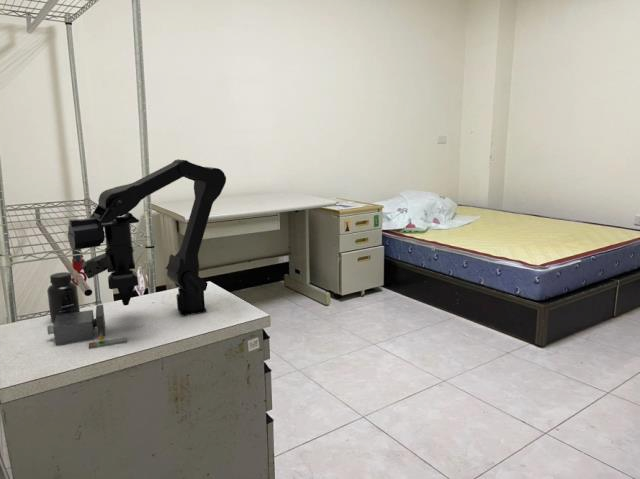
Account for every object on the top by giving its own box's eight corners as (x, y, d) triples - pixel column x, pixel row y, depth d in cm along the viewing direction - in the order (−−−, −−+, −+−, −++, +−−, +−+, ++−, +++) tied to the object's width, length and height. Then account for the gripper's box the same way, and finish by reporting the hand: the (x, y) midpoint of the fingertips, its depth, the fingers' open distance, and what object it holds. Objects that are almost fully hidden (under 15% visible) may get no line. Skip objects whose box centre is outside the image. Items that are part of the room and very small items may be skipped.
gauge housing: (125, 322, 122) (123, 305, 121) (127, 342, 111) (125, 324, 110) (58, 332, 116) (56, 315, 115) (53, 354, 105) (50, 335, 104)
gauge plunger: (105, 323, 120) (102, 304, 119) (105, 343, 109) (102, 323, 108) (51, 331, 116) (48, 312, 115) (44, 353, 104) (41, 332, 103)
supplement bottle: (68, 324, 121) (62, 279, 118) (45, 323, 122) (38, 278, 119) (86, 314, 127) (81, 271, 125) (64, 313, 129) (58, 270, 126)
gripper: (83, 238, 119) (91, 297, 123) (79, 256, 102) (88, 324, 106) (131, 234, 123) (137, 291, 127) (134, 250, 107) (141, 316, 110)
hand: (126, 304), depth 117 cm, fingers closed
